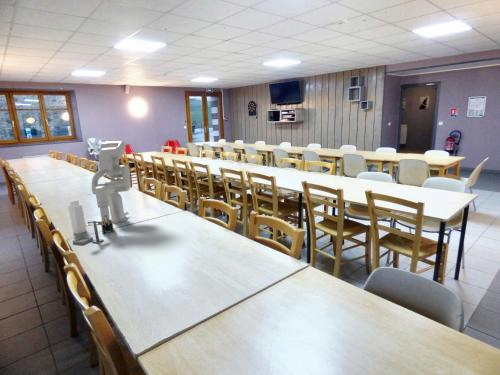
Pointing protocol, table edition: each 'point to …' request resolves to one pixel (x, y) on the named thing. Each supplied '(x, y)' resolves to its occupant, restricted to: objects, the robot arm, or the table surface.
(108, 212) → the robot arm
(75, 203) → the milk
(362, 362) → the table surface
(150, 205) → the table surface
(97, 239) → the balance stand
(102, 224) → the balance beam
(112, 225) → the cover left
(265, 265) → the table surface
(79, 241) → the dish
